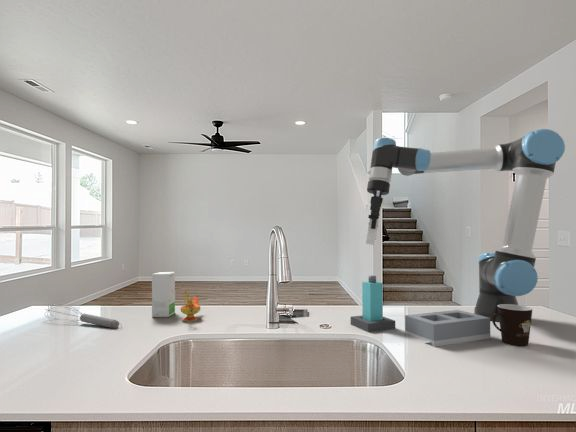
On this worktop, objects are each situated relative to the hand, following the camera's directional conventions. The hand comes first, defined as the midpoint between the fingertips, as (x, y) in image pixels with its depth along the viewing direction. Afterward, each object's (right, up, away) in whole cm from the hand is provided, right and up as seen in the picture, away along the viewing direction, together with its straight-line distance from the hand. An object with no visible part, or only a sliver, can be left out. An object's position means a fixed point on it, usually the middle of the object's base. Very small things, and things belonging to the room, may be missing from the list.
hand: (370, 241), depth 133 cm
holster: (-1, -27, -9) cm, 29 cm away
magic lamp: (-62, -28, +6) cm, 69 cm away
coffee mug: (+34, -27, -23) cm, 49 cm away
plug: (-1, -26, -9) cm, 28 cm away
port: (+19, -27, -17) cm, 37 cm away
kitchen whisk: (-97, -28, -1) cm, 101 cm away
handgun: (-28, -28, +9) cm, 41 cm away
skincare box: (-74, -28, +11) cm, 80 cm away
